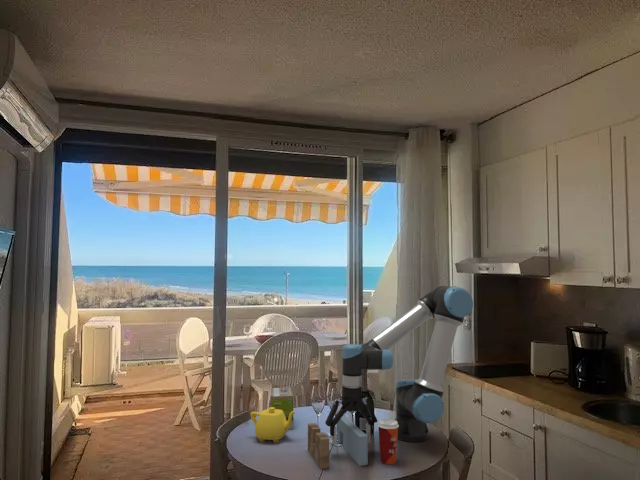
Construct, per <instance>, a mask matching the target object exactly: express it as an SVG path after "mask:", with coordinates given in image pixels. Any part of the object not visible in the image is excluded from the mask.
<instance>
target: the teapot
mask: <svg viewBox="0 0 640 480" xmlns="http://www.w3.org/2000/svg"><path fill="white" fill-rule="evenodd" d="M296 412H297V410H293V412H290V414H289V418H288V421H287V420H286V417H285V414H284V412H283V411H282V410H279V409H275V408H274V407H271V406H270V407H268V408H266V409H264V410H262V411H260V412H259V411H251V412H250V415H249V416H250V418H251V419H250V420H251V421H252V422H253V424H254V426H255V427H254V428H255V429H254V433H255V435H256V437H257V438H258V442H263V443H264V442H265V441H266V440H268V441H269V440H270V441H272V443H275V444H277V443H280V439H282V438H284V437H285V436H286V434H287V433H288V430H290V429H289V428H290V427H291V424H292V417H293V418H294V414H295V413H296ZM256 415H257V416H258V418H257V420H256Z"/></svg>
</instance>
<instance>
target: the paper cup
mask: <svg viewBox="0 0 640 480" xmlns="http://www.w3.org/2000/svg"><path fill="white" fill-rule="evenodd" d="M377 426H378V440H379V443H378V444H379V455H380V456H379V457H380V462H381V463H382V464H384V465H395V464H396V462H397V455H398V454H397V453H398V439H397V437H398V427H399V425H398V422H397V421H395V419H391V418H382V419H380V420H378V422H377Z"/></svg>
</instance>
